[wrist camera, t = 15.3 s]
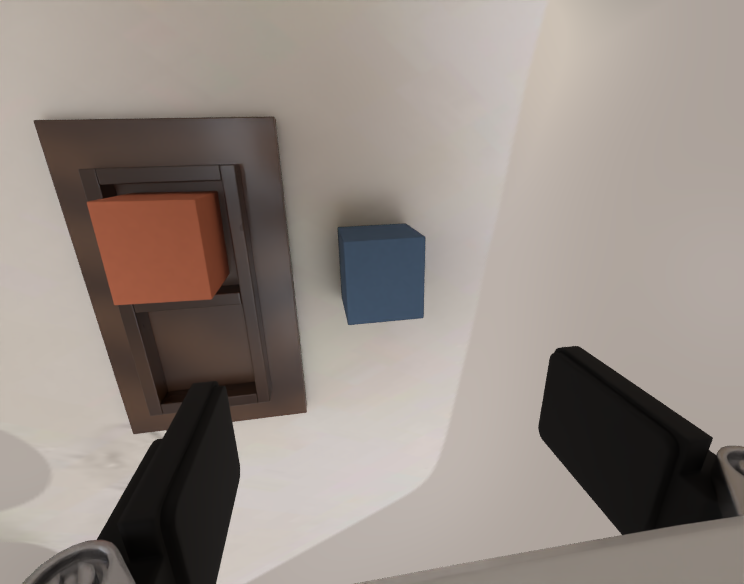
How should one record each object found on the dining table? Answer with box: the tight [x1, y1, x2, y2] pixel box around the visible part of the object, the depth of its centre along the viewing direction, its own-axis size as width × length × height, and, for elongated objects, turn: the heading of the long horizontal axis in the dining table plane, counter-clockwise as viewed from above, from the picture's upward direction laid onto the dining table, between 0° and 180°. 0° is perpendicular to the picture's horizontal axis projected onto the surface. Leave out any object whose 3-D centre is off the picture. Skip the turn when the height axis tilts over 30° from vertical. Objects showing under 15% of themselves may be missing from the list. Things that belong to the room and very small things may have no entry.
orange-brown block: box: [87, 191, 230, 305], centre depth 20 cm, size 5×5×4 cm
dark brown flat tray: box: [34, 117, 307, 434], centre depth 23 cm, size 20×12×2 cm, turn 2°
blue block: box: [338, 224, 425, 325], centre depth 23 cm, size 5×5×4 cm
